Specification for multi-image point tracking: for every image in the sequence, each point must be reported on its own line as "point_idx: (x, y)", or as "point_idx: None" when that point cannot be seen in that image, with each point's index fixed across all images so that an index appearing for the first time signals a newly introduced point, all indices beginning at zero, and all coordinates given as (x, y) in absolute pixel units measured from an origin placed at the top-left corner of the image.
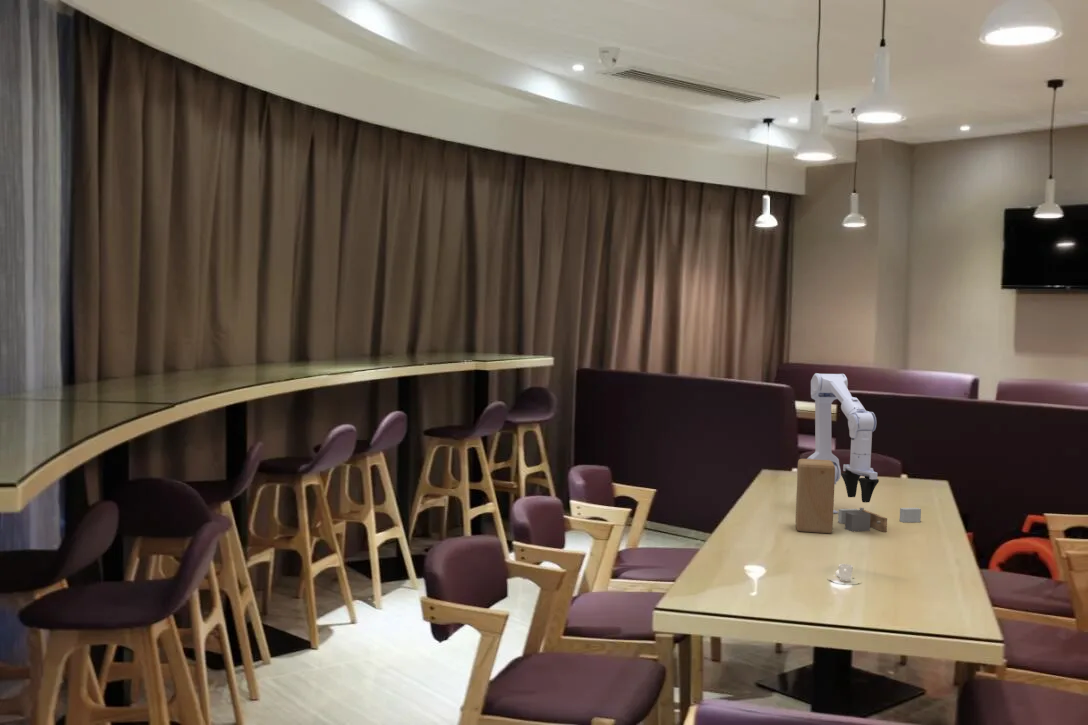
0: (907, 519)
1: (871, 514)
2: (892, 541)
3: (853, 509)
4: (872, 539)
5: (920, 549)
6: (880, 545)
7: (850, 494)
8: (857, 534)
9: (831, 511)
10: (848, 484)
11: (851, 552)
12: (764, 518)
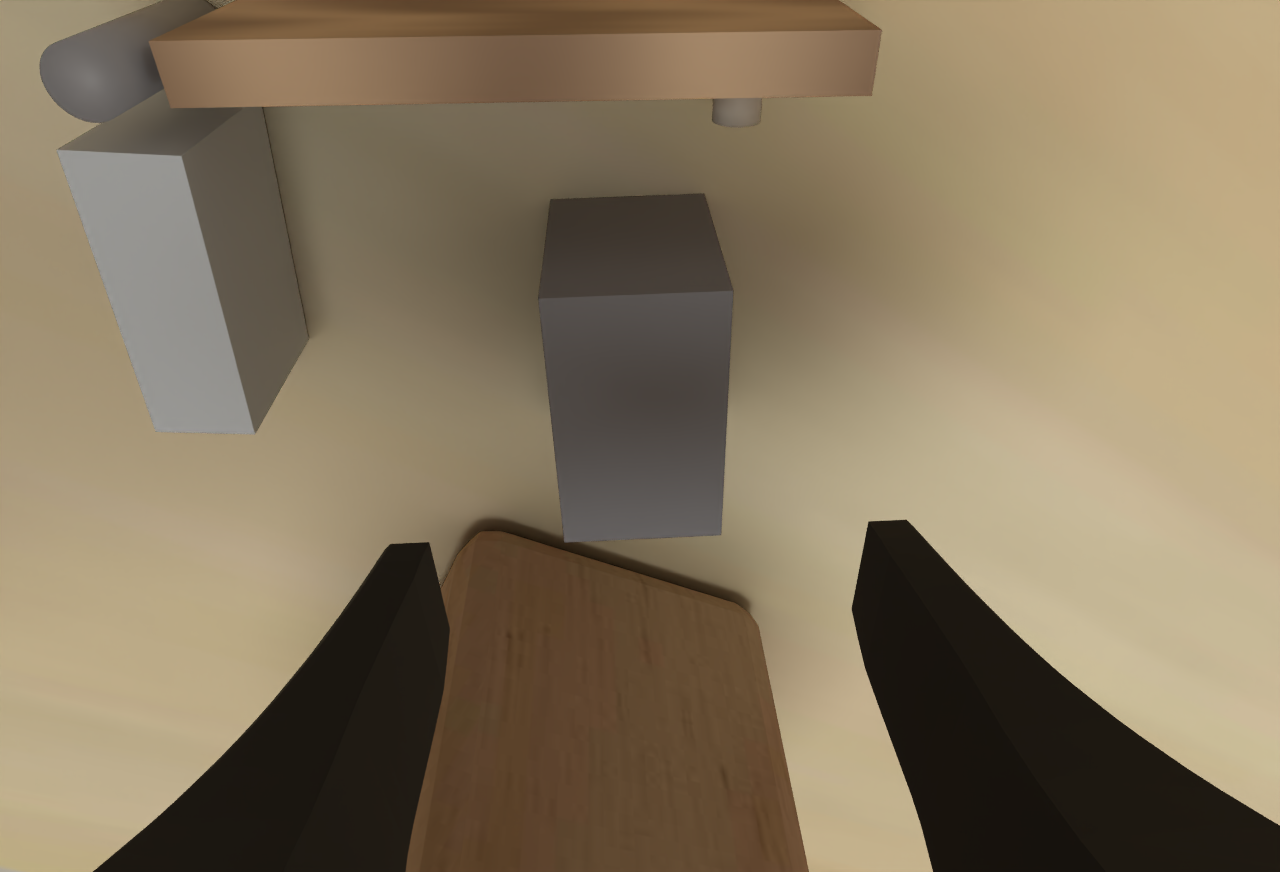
0: None
1: (484, 100)
2: (1232, 220)
3: (142, 237)
4: (1054, 378)
5: None
6: (1264, 423)
7: (435, 653)
8: (824, 413)
9: (789, 797)
10: (395, 869)
11: (1263, 685)
12: (171, 794)
